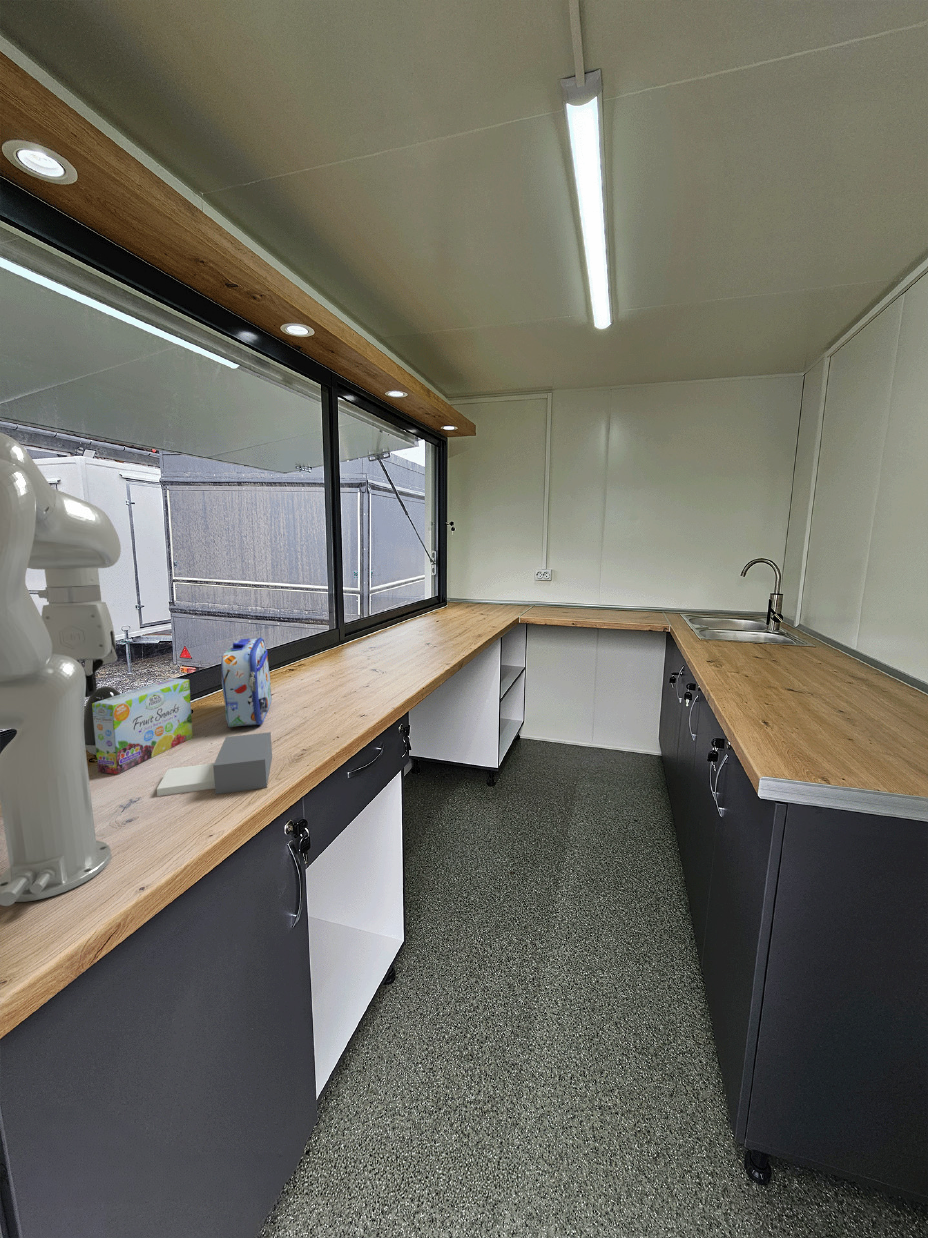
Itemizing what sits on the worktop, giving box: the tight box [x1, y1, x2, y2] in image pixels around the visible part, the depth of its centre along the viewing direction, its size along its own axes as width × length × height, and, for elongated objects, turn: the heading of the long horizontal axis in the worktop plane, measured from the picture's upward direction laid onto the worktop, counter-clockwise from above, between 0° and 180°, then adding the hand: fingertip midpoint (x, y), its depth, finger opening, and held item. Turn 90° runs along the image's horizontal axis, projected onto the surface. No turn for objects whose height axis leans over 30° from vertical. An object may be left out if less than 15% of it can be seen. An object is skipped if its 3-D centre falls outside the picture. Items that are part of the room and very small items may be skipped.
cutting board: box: [156, 762, 215, 797], centre depth 100 cm, size 9×16×2 cm, turn 108°
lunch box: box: [220, 637, 273, 728], centre depth 136 cm, size 28×10×22 cm, turn 17°
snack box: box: [92, 677, 194, 775], centre depth 112 cm, size 21×6×15 cm, turn 168°
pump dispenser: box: [84, 686, 121, 756], centre depth 113 cm, size 10×10×15 cm
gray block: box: [213, 732, 273, 795], centre depth 102 cm, size 15×9×6 cm, turn 17°
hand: (86, 695), depth 92 cm, fingers closed
